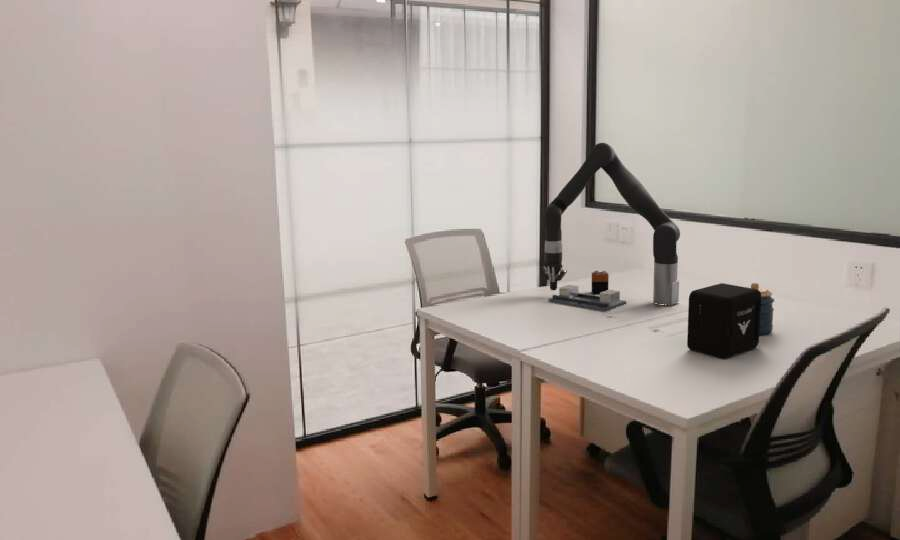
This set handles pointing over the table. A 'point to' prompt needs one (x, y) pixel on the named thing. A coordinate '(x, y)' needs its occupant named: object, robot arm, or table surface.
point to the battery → (599, 282)
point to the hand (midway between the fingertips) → (553, 289)
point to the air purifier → (724, 320)
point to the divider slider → (569, 291)
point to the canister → (765, 310)
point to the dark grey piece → (592, 300)
